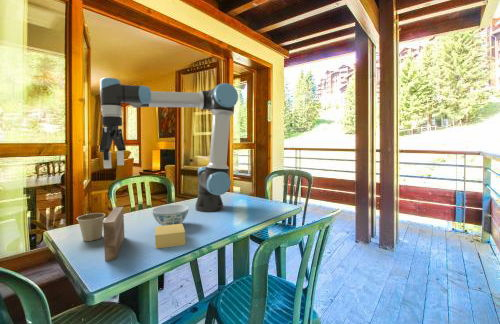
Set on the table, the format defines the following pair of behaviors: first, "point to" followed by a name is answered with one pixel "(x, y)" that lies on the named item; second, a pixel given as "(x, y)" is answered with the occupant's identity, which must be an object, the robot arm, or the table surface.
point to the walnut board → (113, 233)
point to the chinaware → (170, 214)
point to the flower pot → (91, 226)
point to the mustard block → (169, 235)
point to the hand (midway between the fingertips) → (114, 166)
